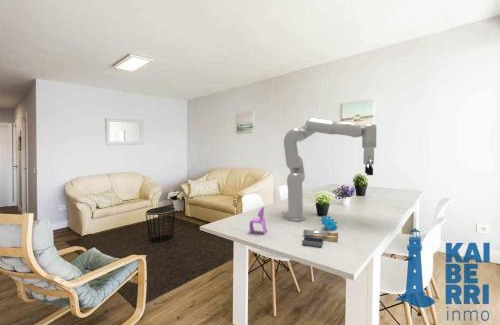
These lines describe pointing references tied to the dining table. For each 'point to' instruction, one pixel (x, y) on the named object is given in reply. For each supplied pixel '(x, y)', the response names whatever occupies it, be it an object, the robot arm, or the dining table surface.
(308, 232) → the axle
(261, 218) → the toy chair
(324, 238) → the beam
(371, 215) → the dining table surface
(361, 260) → the dining table surface
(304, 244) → the cradle
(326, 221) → the gear
